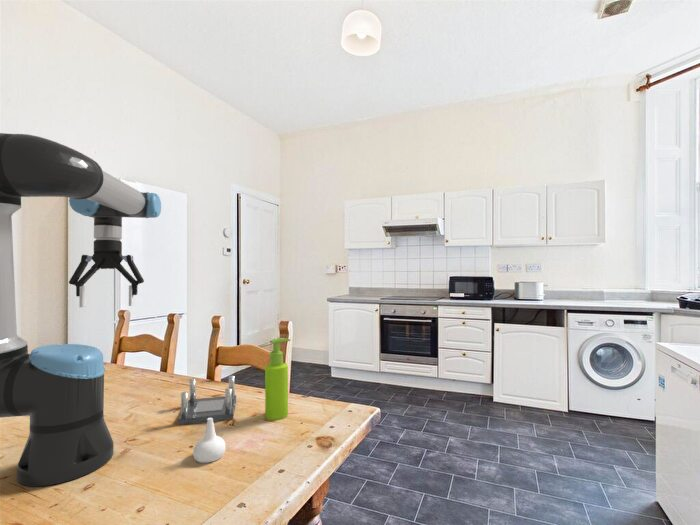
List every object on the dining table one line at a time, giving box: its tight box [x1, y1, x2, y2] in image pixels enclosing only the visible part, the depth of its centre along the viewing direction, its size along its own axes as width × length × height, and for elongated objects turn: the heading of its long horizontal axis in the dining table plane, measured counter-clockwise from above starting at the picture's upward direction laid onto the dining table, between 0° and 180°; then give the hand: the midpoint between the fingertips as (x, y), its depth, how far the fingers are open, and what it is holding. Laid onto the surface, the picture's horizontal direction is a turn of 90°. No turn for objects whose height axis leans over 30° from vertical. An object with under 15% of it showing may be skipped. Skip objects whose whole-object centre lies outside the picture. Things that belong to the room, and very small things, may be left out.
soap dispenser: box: [264, 337, 291, 421], centre depth 96 cm, size 6×7×20 cm
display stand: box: [177, 375, 237, 426], centre depth 98 cm, size 14×13×8 cm
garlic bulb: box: [192, 418, 227, 464], centre depth 75 cm, size 6×6×8 cm
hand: (107, 306), depth 115 cm, fingers open, 13 cm apart
